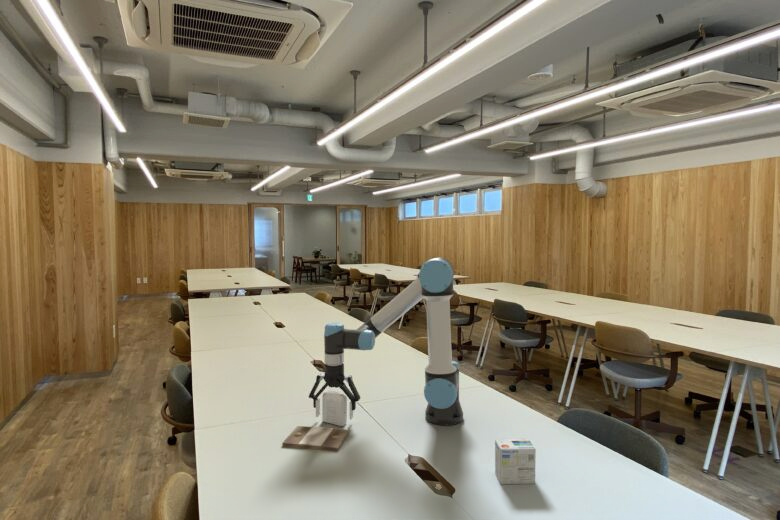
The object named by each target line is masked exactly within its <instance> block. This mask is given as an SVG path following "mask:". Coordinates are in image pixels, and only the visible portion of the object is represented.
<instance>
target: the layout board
mask: <svg viewBox="0 0 780 520" xmlns="http://www.w3.org/2000/svg"><path fill="white" fill-rule="evenodd" d="M349 434H350V429H345V428H344V429H343V428H342V429H341V428H334V427H326V426H317V425H316V426H303V425H297V426H296V427H295V428H294V429H293V430H292V432H291V433H290V434H289V435H288V436H287V437H286V438H285V439H284V440H283V441H282V443H281V445H282V447H285V448H296V447H297V448H300V449H307V450H309V449H310V450H318V451H319V450H321V451H331V452H332V451H335V452H339V450H340V449H341V447H342V445H343V444H344V442H345V441H346V439H347V437H348V436H349ZM297 448H296V449H297Z"/></svg>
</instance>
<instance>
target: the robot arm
mask: <svg viewBox="0 0 780 520" xmlns="http://www.w3.org/2000/svg"><path fill="white" fill-rule="evenodd" d="M454 276H455V269H454V266H453V263H452V262H451V261H450V260H448V259H447V258H445V257H441V256H439V257H434V258H430V259H428V260H426V261H425V262H424V263H423V264H422V265H421V266H420V269H419V272H418V273H417V274H416V279H414V280H413V282H411V283H410V284H409V285H408V286H406V287H405V288H404V289H403V290H402V291H400V292H399V293H398V294H397V295H396V296H394V297H393V298H392V299H391V300H390V301H389V302H388V303H386V305H384V306H383V307H382V308H380V310H378V311H377V312H376V313H375V314H373V315H372V316H371V317H370V318H369V319H368V320H366V321H365V322H363V324H362V325H360V326H359V327H358V328H357V329H348V328H345V325H344V324H343V323H342V322H329V323H326V324H325V326H324V334H323V338H324V339H323V342H324V344H323V345H324V363H325V364H324V374H322V373H318V374H317V375H316V377H315V379H316V380H315V382H314V384H313V386H312V388H311V391H310V393H309V394H308V399H312V400H313V402H312V404H313V405H312V406H313V408H315V417H316V418H318V417H319V416H320V415H321V398H320V397H319V396H320V395H321V394H322V393H324V390H325V389H326V388H327V387H329V388H339V389H340V390H341V391H342V392H343V394H344V395H345V396H346V398H348V399H349V400H350V401H349V420H352V419H353V418H354V411H355V410H356V409H357V408H356V407H357V406H356V404H357V403H356V402H359V401H360V400H361V395H360V393H359V392H358V389H357V388H356V386H355V383H354V381H353V376H352V375H348V376H345V363H344V362H345V350H355V351H356V350H358V351H372V350H373V349H374V348H375V344H376V338H378V337H379V336H380V335H381V334H382V333H383V332H385V331H386V330H387V329H388V328H389V327H390V326H392V325H393V324H394V323H395V322H397V320H399V319H401V317H402V316H404V315H405V314H406V313H407V312H408V311H410V309H412V308H413V307H415V306H416V305H417V304H418V303H419V302H420V301H422V300H423V299H424V300H425V305H426V308H425V309H426V326H427V327H426V330H427V332H426V333H427V353H428V364H427V365H426V367H425V368H424V378H425V379H424V381H425V383H424V385H425V386H424V389H423V395H424V399H425V400H426V403H427V406H426V409H425V411H424V412H425V416H424V417H425V420H426V421H428V422H429V423H432V424H434V425H439V426H454V425H458V424H461V422H463V421H464V411H463V408H462V404H461V401H460V371H461V370H460V364H459V362H457V361H455V360H453V356H452V355H453V353H452V328H451V327H452V326H451V304H450V303H451V302H450V299H451V298H452V297H453V296H454ZM322 380H324V382H325V383H324V384H323V385H322V387H321V388H320V389H319V390H318V387H319V385H320V383H321V381H322ZM344 381H345V382H344ZM346 382H347V384H348V386H349V388H350V389H349V388H348V386H347V385H346ZM317 390H318V391H317ZM316 391H317V392H316Z"/></svg>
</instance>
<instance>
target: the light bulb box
mask: <svg viewBox="0 0 780 520" xmlns="http://www.w3.org/2000/svg"><path fill="white" fill-rule="evenodd" d="M536 450H537V449H536V447H535V446H534V444H533V443H532V442H531V440H530V439H529V438H518V439H517V438H516V439H510V438H509V439H494V453H495V454H494V472H495V473H494V474H495V476H496V478H497V480H498V482H499V484H500V485H517V484H519V485H523V484H525V485H528V484H529V485H530V484H534V485H535V484H536V456H537V455H536Z"/></svg>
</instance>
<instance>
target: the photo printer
mask: <svg viewBox="0 0 780 520" xmlns="http://www.w3.org/2000/svg"><path fill="white" fill-rule="evenodd" d="M347 398H348V397H347V395H346V394H345V393H342V392H339V391H335V390H326V391H325V392H324V391H323V394H322V400H321V402H322V403H321V404H322V406H321V407H322V410H321V411H322V413H321V414H322V415H321V418H322V422H325V423H328V424H330V425H331V424H332V425H335V426H339V427H344V426H346V424H347V421H348V420H347V417H348V415H347V413H348V412H347V411H348V407H347V406H348V403H347V402H348V399H347Z"/></svg>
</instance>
